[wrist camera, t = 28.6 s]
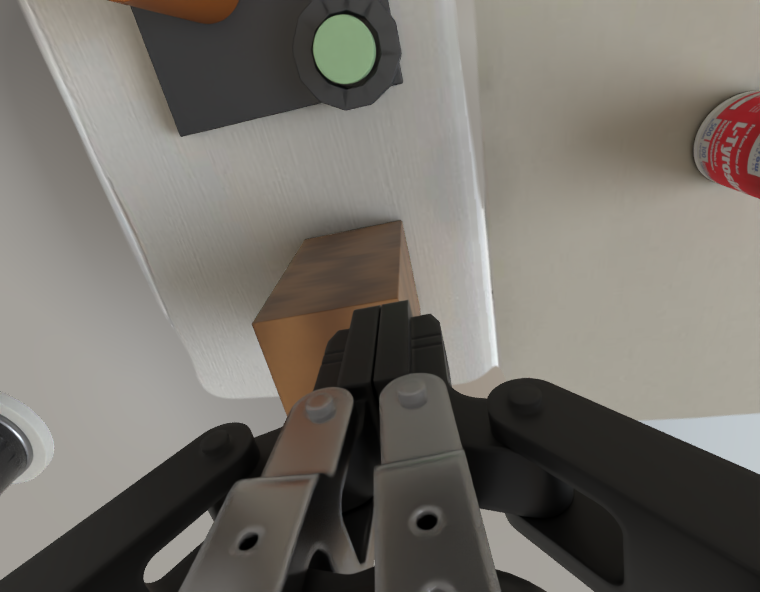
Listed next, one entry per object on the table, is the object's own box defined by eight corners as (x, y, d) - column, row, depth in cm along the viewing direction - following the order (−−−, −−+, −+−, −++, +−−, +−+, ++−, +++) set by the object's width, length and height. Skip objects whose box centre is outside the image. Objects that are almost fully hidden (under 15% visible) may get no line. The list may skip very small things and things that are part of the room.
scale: (194, 144, 34) (172, 151, 31) (110, -81, 29) (73, -100, 26) (408, 93, 32) (408, 95, 29) (362, -163, 26) (357, -195, 23)
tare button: (326, 89, 30) (322, 90, 28) (310, 26, 28) (305, 23, 26) (381, 76, 29) (380, 76, 27) (368, 10, 28) (366, 6, 26)
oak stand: (330, 324, 40) (294, 438, 28) (304, 239, 37) (250, 323, 25) (420, 309, 39) (426, 420, 27) (401, 219, 36) (398, 297, 23)
